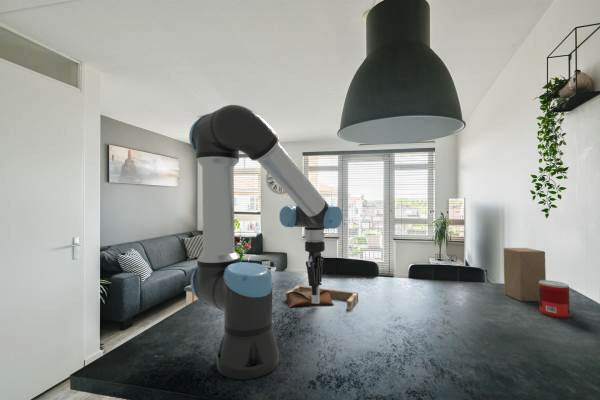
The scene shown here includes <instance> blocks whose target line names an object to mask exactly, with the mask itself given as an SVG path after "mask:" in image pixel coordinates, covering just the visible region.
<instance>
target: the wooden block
mask: <svg viewBox="0 0 600 400" xmlns="http://www.w3.org/2000/svg"><path fill="white" fill-rule="evenodd" d="M546 274H547V273H546V252H545V251H543V250H539V249H533V248H530V247H529V248H528V247H504V248H503V283H504V284H503V286H504V287H503V288H504V289H503V290H504V295H505V296H508V297H511V298H513V299H515V300H517V301H520V302H539V281H541V280H546V279H547V277H546Z"/></svg>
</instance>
